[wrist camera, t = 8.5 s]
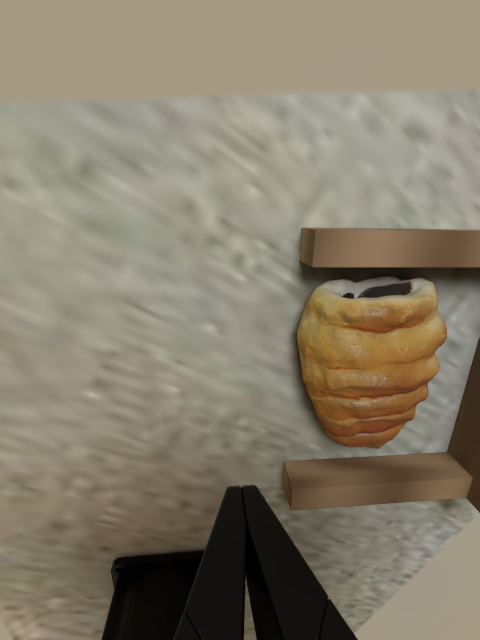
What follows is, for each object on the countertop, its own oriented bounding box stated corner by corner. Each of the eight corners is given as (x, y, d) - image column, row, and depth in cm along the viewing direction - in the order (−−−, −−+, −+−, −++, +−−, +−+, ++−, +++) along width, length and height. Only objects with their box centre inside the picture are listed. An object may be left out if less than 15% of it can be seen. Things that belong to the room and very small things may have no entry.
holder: (282, 481, 19) (306, 568, 14) (301, 227, 14) (346, 234, 10) (463, 469, 20) (541, 547, 15) (538, 230, 15) (683, 237, 11)
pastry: (405, 420, 19) (451, 470, 15) (295, 435, 18) (315, 489, 15) (420, 266, 16) (482, 281, 12) (289, 280, 15) (312, 301, 12)
